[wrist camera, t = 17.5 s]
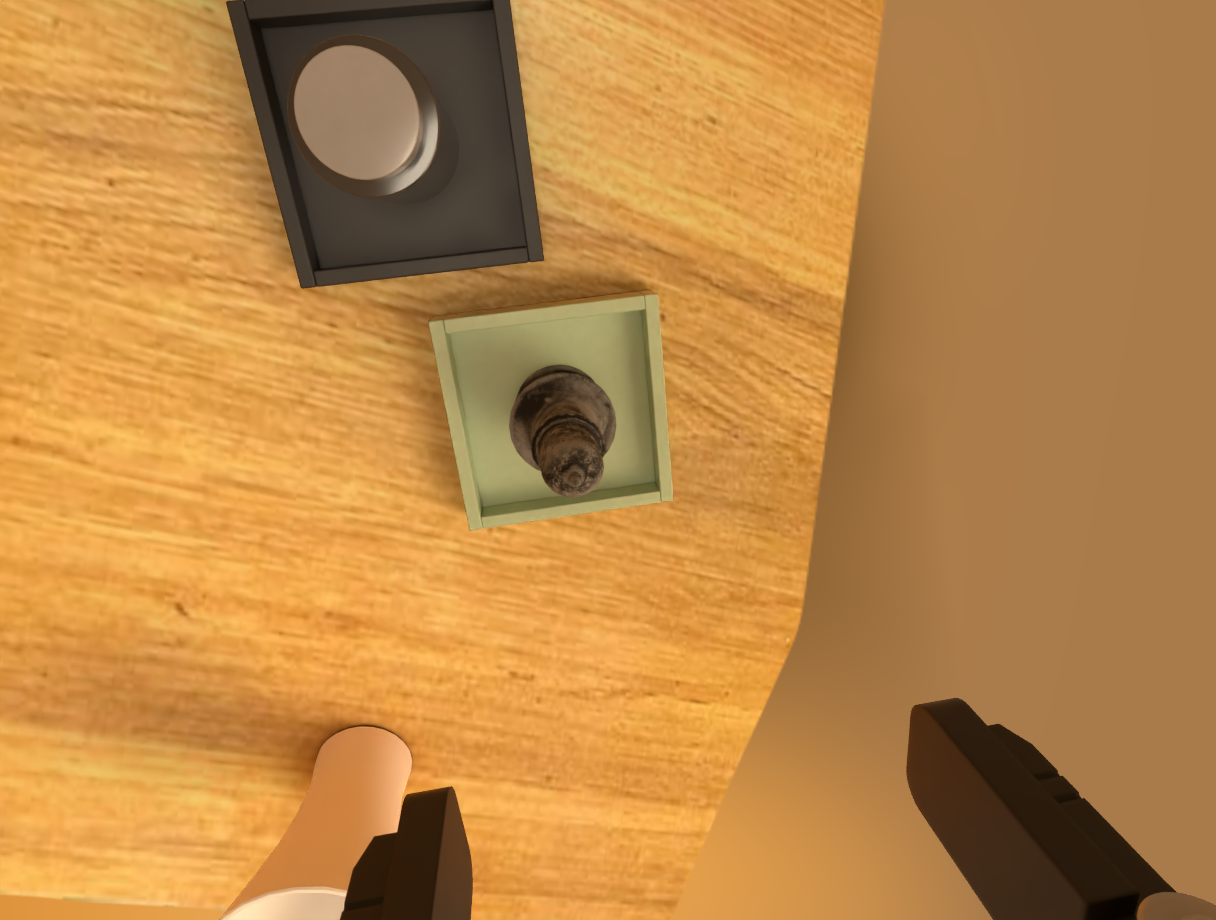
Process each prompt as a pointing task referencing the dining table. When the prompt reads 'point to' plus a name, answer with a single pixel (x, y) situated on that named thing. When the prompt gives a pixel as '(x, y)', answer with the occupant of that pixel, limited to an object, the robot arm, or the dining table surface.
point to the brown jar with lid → (371, 121)
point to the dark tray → (471, 94)
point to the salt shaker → (563, 428)
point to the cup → (330, 829)
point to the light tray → (515, 349)
